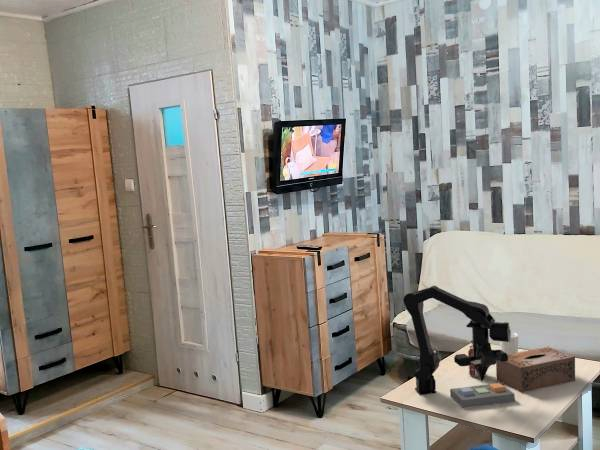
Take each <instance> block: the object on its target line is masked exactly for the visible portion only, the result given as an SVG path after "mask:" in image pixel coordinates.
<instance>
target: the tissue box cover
mask: <svg viewBox="0 0 600 450" xmlns="http://www.w3.org/2000/svg"><path fill="white" fill-rule="evenodd" d="M495 368H496V369H495V371H496V377H495V378H496V381H497V382H498V383H501V384H502V385H505V386H507V387H509V388H511V389H513V390H515V391H517V392H519V393H526V392H530V391H535V390H540V389H544V388H548V387H553V386H557V385H558V386H559V385H563V384H566V383H571V381H572V382H576V356H574V355H572V354H569V353H566V352H563V351H561V350H558V349H556V348H553V347H550V346H546V347H539V348H535V349H529V350H524V351H518V353H513V354H508V361H505V362H500V361H499V360H497V361H496V364H495Z"/></svg>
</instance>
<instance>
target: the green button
mask: <svg viewBox="0 0 600 450" xmlns="http://www.w3.org/2000/svg"><path fill="white" fill-rule="evenodd" d="M474 391H475V392H476V393H478V394H486V393H489V391H488V390H487V389H485V388H477V389H474Z"/></svg>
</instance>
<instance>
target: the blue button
mask: <svg viewBox="0 0 600 450" xmlns="http://www.w3.org/2000/svg"><path fill="white" fill-rule="evenodd" d="M470 387H471V386H463V387H458V388H459V393H460V394H461V395H462V396H469V395H474V390H472V389H471V388H470Z"/></svg>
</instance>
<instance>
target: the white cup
mask: <svg viewBox="0 0 600 450" xmlns="http://www.w3.org/2000/svg"><path fill="white" fill-rule="evenodd" d="M499 345H500V347H499V348H500V350H502V351H504V352H505V353H507V354H513V353H518V352H519V334H518V333H516V332H511V337H510V342H504V341H499Z"/></svg>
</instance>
